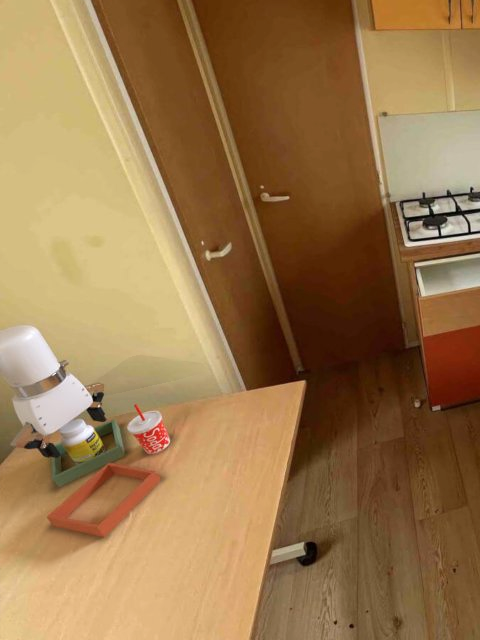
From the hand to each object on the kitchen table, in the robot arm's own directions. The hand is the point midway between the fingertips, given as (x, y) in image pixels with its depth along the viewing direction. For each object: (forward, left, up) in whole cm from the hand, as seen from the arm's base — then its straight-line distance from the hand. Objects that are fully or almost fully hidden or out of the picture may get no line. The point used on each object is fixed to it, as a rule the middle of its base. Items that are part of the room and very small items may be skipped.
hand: (78, 437), depth 95 cm
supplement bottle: (0, 0, -6) cm, 6 cm away
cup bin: (+16, -8, -7) cm, 19 cm away
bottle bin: (0, 0, -7) cm, 7 cm away
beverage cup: (+13, +5, -7) cm, 16 cm away
